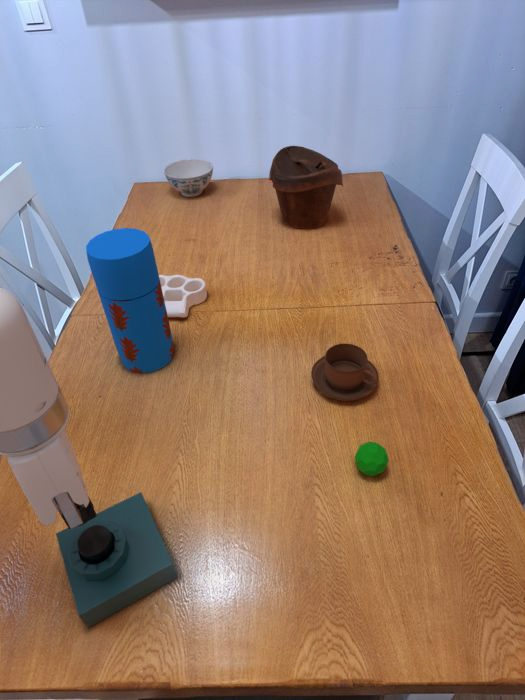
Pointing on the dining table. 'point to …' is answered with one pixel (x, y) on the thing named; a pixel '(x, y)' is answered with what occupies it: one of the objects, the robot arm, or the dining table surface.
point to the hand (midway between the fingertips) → (81, 517)
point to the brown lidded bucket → (304, 185)
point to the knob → (95, 544)
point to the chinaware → (189, 176)
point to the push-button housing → (117, 561)
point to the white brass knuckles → (181, 294)
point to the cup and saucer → (345, 373)
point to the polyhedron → (371, 458)
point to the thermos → (132, 298)
